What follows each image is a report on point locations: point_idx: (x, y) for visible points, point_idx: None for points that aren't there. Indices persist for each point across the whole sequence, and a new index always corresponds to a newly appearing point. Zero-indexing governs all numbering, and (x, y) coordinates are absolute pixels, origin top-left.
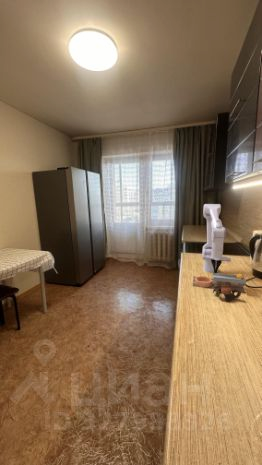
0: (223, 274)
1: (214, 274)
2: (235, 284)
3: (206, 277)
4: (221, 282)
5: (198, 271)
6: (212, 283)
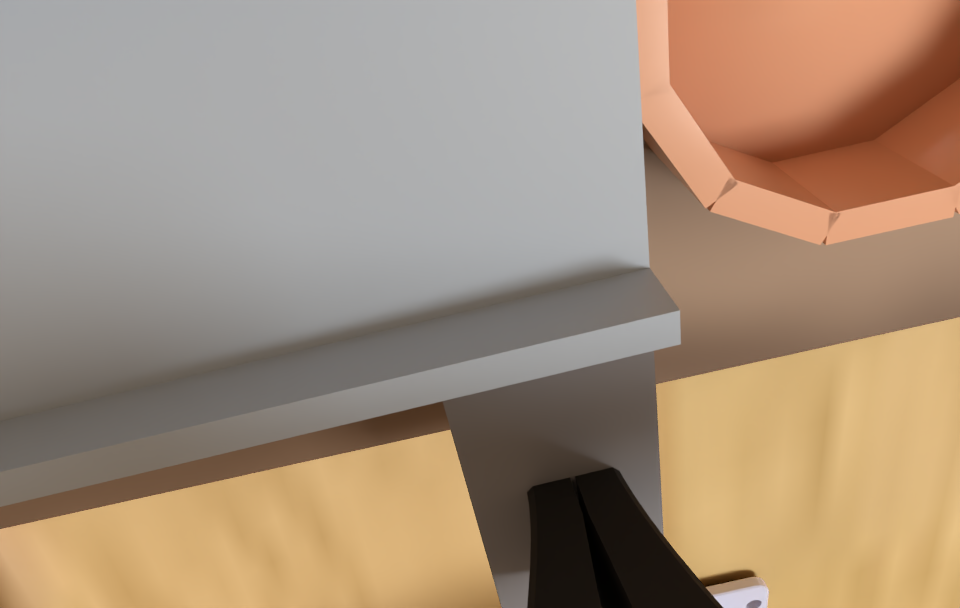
0: (237, 408)
1: (602, 296)
2: None
3: (802, 198)
4: None
5: (837, 578)
6: None
